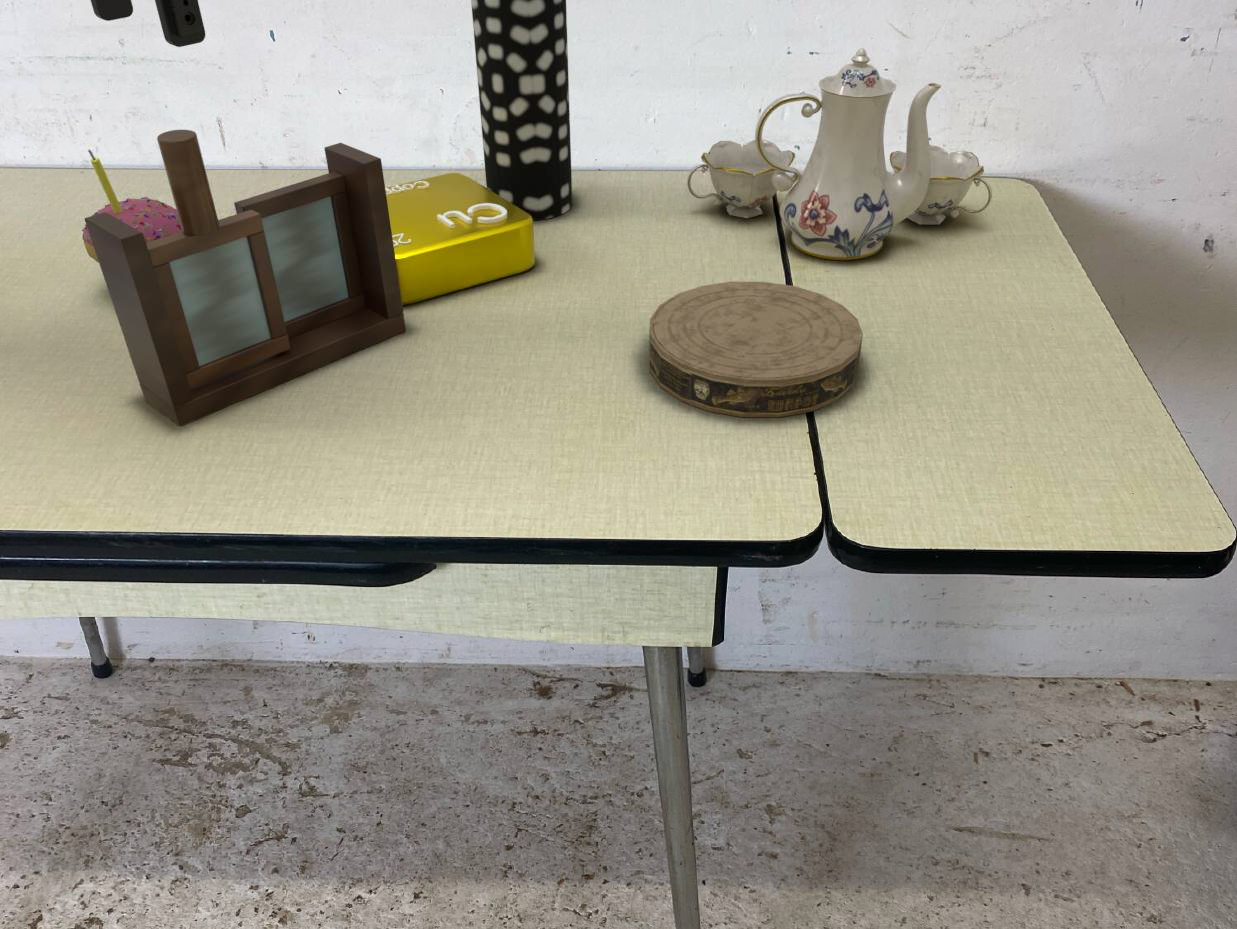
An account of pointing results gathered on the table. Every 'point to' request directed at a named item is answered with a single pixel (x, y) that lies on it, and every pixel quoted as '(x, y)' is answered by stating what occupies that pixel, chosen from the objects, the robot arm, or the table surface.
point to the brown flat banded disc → (754, 349)
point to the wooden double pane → (305, 278)
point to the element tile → (455, 236)
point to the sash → (214, 274)
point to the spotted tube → (525, 102)
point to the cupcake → (134, 213)
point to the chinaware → (846, 169)
